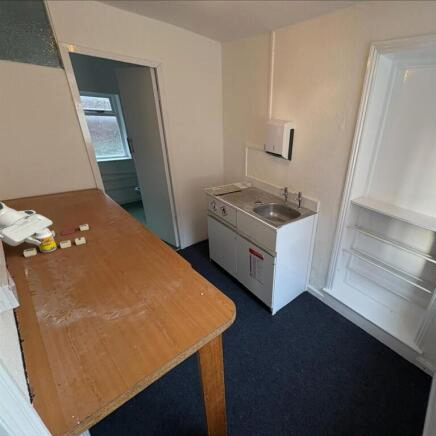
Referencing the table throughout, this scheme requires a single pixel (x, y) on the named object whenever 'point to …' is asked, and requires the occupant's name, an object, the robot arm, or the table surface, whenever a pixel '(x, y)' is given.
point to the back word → (82, 227)
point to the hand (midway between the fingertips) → (46, 239)
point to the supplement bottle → (45, 240)
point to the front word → (63, 245)
